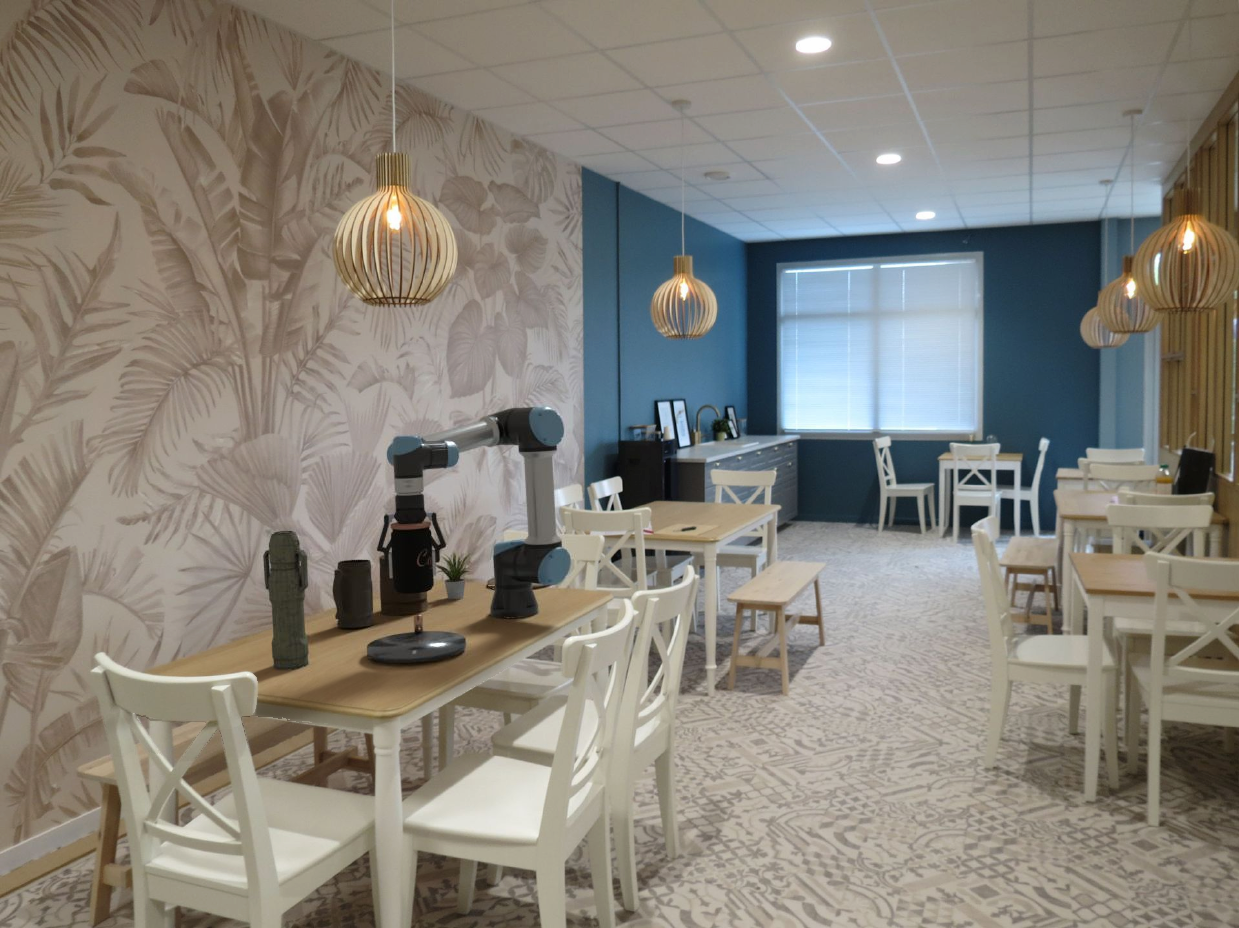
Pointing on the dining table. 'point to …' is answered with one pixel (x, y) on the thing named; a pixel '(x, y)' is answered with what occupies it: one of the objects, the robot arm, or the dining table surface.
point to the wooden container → (398, 596)
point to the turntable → (416, 645)
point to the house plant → (454, 577)
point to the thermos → (287, 599)
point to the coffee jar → (412, 557)
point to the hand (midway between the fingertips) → (413, 576)
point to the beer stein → (353, 593)
